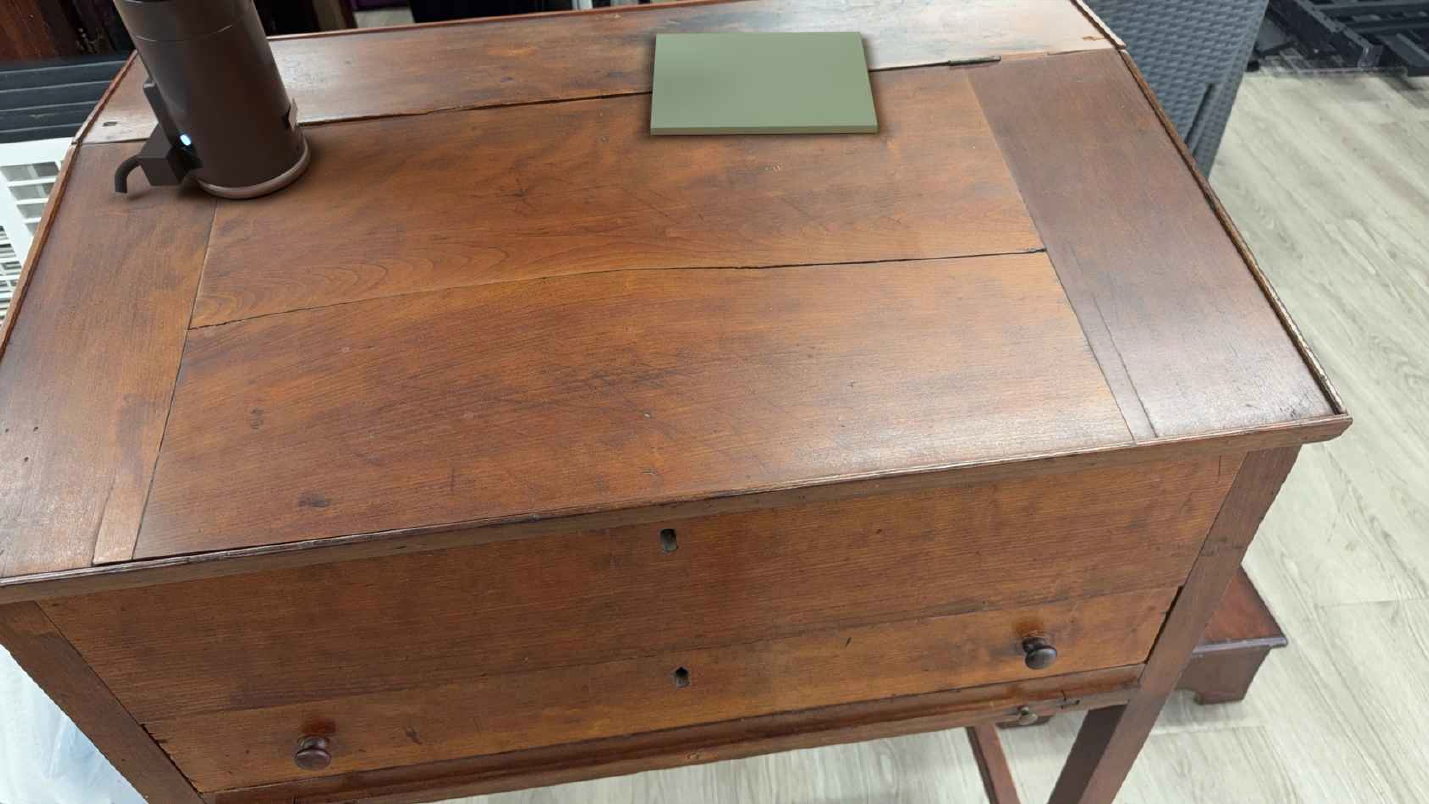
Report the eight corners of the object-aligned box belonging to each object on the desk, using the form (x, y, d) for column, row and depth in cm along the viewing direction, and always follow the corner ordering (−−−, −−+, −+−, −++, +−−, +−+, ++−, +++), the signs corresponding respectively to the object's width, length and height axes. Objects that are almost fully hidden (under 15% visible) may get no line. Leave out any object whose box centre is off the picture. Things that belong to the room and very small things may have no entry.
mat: (650, 135, 91) (650, 127, 90) (656, 41, 101) (656, 33, 101) (876, 132, 90) (877, 125, 90) (859, 38, 101) (860, 31, 100)
